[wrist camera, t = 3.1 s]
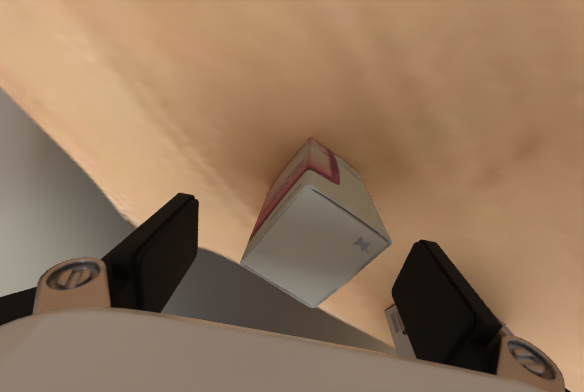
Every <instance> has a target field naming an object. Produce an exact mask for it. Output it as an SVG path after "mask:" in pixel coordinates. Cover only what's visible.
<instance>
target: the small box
mask: <svg viewBox="0 0 584 392" xmlns="http://www.w3.org/2000/svg"><path fill="white" fill-rule="evenodd" d="M390 245H391V239H390V237H389V235H388V233H387V231H386V229H385V227H384V225H383V222H382V220H381V218H380V216H379V214H378V212H377V210H376V208H375V206H374V204H373V201H372V199H371V197H370V195H369V193H368V191H367V189H366V187H365V185H364V183H363V181H362V179H361V177H360V175H359V173H358V172H357V171H355V170H354V169H353V168H352V167H351V166H349V165H348V164H347V163H346V162H344V161H343V160H342V159H341V158H339V157H338V156H337V155H335V154H334V153H333V152H331V151H330V150H329V149H327V148H326V147H324V146H323V145H322V144H320V143H319V142H318V141H316V140H315V139H313V138H309V139H308V140H307V141H306V142H305V144H304V145H303V146H302V147H301V149H300V150H299V151H298V152H297V153H296V155H295V156H294V157H293V158H292V160H291V161H290V162H289V163H288V165H287V166H286V167H285V169H284V170H283V171H282V173H281V174H280V176H279V177H278V178H277V180H276V181H275V183H274V184H273V185H272V187H271V188H270V190H269V192H268V194H267V197H266V199H265V202H264V204H263V207H262V209H261V212H260V214H259V216H258V219H257V222H256V224H255V227H254V229H253V232H252V234H251V236H250V239H249V242H248V244H247V247H246V249H245V252H244V254H243V257H242V259H241V262H240V264H241V265H242V266H244V267H245V268H247V269H249V270H250V271H252V272H254V273H255V274H257V275H258V276H260V277H262V278H264V279H265V280H267V281H268V282H269V283H271V284H273V285H274V286H276V287H278V288H279V289H281V290H282V291H284V292H286V293H287V294H289V295H291V296H292V297H293V298H295V299H297V300H299V301H300V302H302V303H303V304H305V305H307V306H308V307H310V308H316V307H317V306H318V305H320V304H321V303H322V302H323V301H324V300H326V299H327V298H328V297H329V296H331V295H332V294H333V293H334V292H336V291H337V290H338V289H339V288H340V287H342V286H343V285H344V284H346V283H347V282H349V281H350V280H351V279H352V278H353V277H354V276H355V275H356V274H357V273H358V272H359V271H361V270H362V269H363V268H364V267H365V266H366V265H368V264H369V263H370V262H371V261H372V260H373V259H374V258H376V257H377V256H378V255H379V254H380V253H381V252H383V251H384V250H385V249H386V248H388V247H389V246H390Z"/></svg>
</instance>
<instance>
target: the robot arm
mask: <svg viewBox="0 0 584 392" xmlns="http://www.w3.org/2000/svg"><path fill="white" fill-rule="evenodd" d="M198 208H199V202H198V200H197V199H195V197H194V195H189V194H184V193H178V194H177V195H176V196H175V197H173V198H172V199H171V200H170V201H169V202H168V203H166V204H165V205H164V206H163V207H162V208H161V209H159V210H158V211H157V212H156V213H155V214H154V215H152V216H151V217H150V218H149V219H148V220H147V221H145V222H144V223H143V224H142V225H140V226H139V227H138V228H137V229H136V230H135V231H133V232H132V233H131V234H130V235H129V236H128V237H127V238H125V239H124V240H123V241H122V242H121V243H120V244H118V245H117V246H116V247H115V248H114V249H112V250H111V251H110V252H109V253H108V254H107V255H105V256H104V257H103V258H102V259H101V260H100V259H97V258H93V257H81V258H75V259H71V260H67V261H64V262H62V263H59V264H57V265H55V266H53V267H52V268H50V269H49V270H47V271H46V272H45V273H44V274H43V275H42V276H41V277H40V279H39V281H38V285H37V287H34V288H31V289H27V290H24V291H21V292H17V293H13V294H10V295H6V296H3V297H0V392H570V391H569V390H567V389H566V388H565V384H564V378H563V376H562V373H561V371H560V370H559V368H558V367H557V365H556V364H555V363H554V362H553V361H552V360H551V359H550V358H549V357H548V356H547V355H546V354H545V353H544V352H542V351H541V350H540V349H539V348H537V347H536V346H534V345H533V344H531V343H529V342H527V341H526V340H524V339H522V338H519V337H516V336H511V335H506V336H503V337H501V336H500V334H499V333H498V332H499V331H500V329H501V328H502V327H503V326H502V325H501V323H500V322H499V321H498V320H497V318H496V317H495V316H494V315H493V313H492V312H491V311H490V309H489V308H488V307H487V306H486V304H485V303H484V302H483V301H482V299H481V298H480V297H479V296H478V294H477V293H476V292H475V291H474V289H473V288H472V287H471V286H470V284H469V283H468V282H467V280H466V279H465V278H464V277H463V275H462V274H461V273H460V272H459V270H458V269H457V268H456V267H455V265H454V264H453V263H452V262H451V260H450V259H449V258H448V257H447V255H446V254H445V253H444V251H443V250H442V249H441V248H440V246H439V245H438V244H437V243H436V242H432V241H427V240H420V241H418V242H415V243H414V245H413V247H412V249H411V251H410V253H409V255H408V257H407V259H406V261H405V263H404V265H403V267H402V269H401V271H400V273H399V275H398V277H397V279H396V281H395V283H394V285H393V288H392V297H393V300H394V302H395V305H396V307H397V310H398V312H399V315H400V318H401V320H402V323H403V325H404V328H405V330H406V333H407V336H408V338H409V341H410V343H411V346H412V348H413V351H414V354H415V356H416V359H414V358H409V357H403V356H398V355H393V354H387V353H382V352H377V351H371V350H366V349H360V348H355V347H350V346H344V345H339V344H333V343H328V342H323V341H317V340H312V339H306V338H300V337H295V336H289V335H284V334H278V333H273V332H267V331H261V330H256V329H250V328H244V327H239V326H233V325H227V324H222V323H216V322H211V321H205V320H199V319H193V318H187V317H180V316H174V315H168V314H161V311H162V310H163V308H164V306H165V305H166V303H167V302H168V300H169V299H170V297H171V296H172V294H173V292H174V291H175V289H176V288H177V286H178V285H179V283H180V282H181V280H182V278H183V277H184V275H185V274H186V272H187V270H188V269H189V267H190V266H191V264H192V263H193V261H194V260H195V257H196V255H197V250H198Z"/></svg>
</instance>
